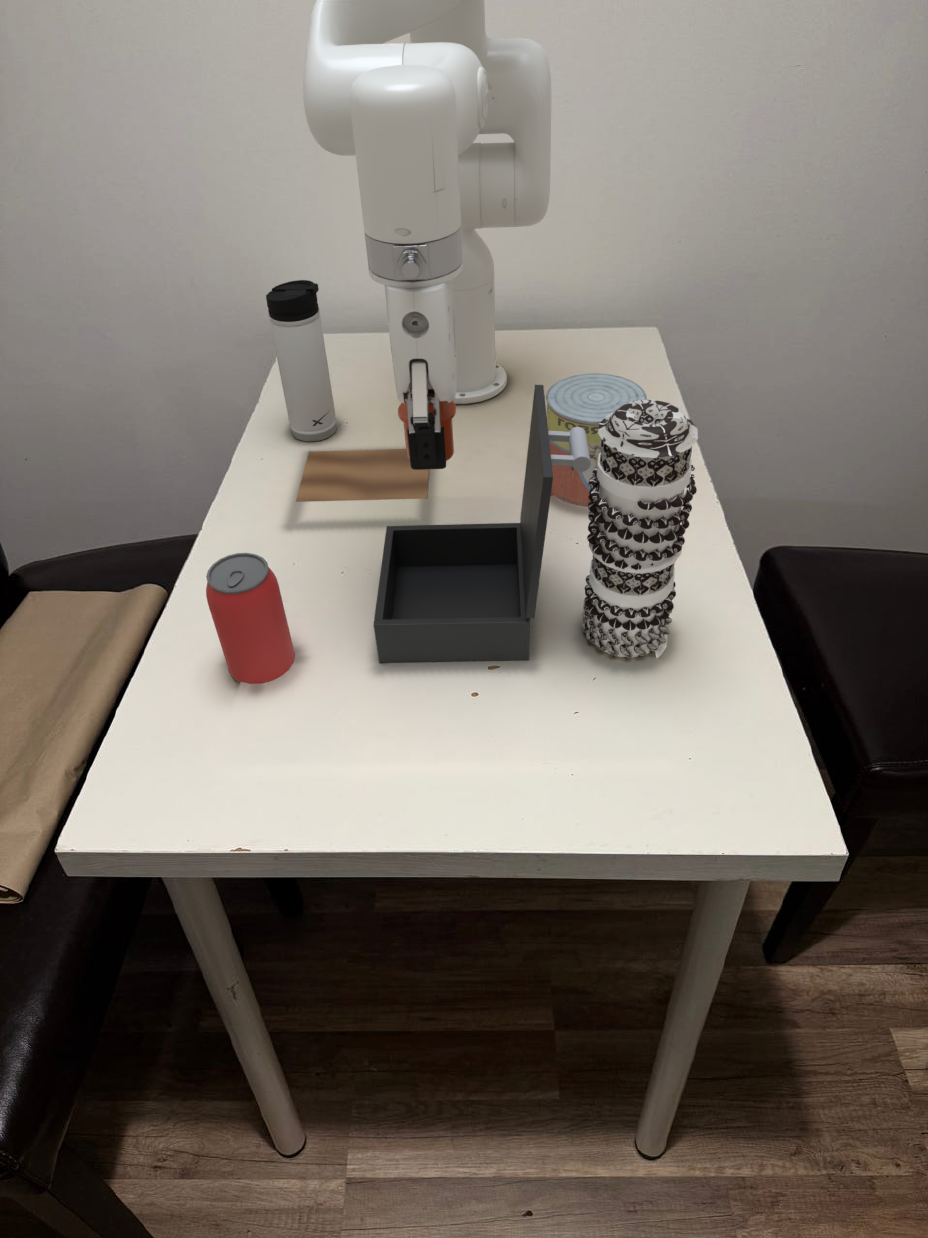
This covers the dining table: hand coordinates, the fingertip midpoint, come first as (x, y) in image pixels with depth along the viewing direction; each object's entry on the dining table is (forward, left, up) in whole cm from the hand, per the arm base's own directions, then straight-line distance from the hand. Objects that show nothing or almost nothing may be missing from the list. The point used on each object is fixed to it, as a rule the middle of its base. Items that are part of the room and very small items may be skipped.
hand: (429, 448), depth 82 cm
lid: (+3, +9, -4) cm, 10 cm away
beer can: (+10, -17, -19) cm, 27 cm away
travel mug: (-35, -18, -19) cm, 44 cm away
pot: (0, 0, 0) cm, 0 cm away
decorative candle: (+7, +19, -19) cm, 27 cm away
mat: (-21, -10, -18) cm, 30 cm away
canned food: (-20, +18, -19) cm, 33 cm away
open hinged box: (+3, +2, -18) cm, 19 cm away
